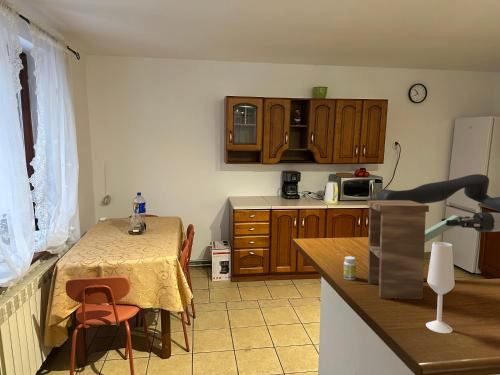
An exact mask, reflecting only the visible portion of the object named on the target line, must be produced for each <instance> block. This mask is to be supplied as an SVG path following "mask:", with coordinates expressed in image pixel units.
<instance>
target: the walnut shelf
mask: <svg viewBox="0 0 500 375" xmlns="http://www.w3.org/2000/svg"><path fill="white" fill-rule="evenodd" d="M366 206H367V207H368V245H367V247H368V251H367V252H368V253H367V254H368V256H367V283H368V284H370V285H372V284H374V285H378V297H379V298H380V299H391V298H395V299H397V298H399V300H400V299H401V300H402V299H403V300H423V299H424V298H423V297H424V272H425V269H424V268H425V246H426V245H425V244H426V242H425V230H426V215H427V214H426V213H429V212H430V205H427V204H421V203H417V202H414V201H410V200H377V199H376V200H372V199H370V200H368V199H367V200H366ZM397 300H398V299H397Z"/></svg>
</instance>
